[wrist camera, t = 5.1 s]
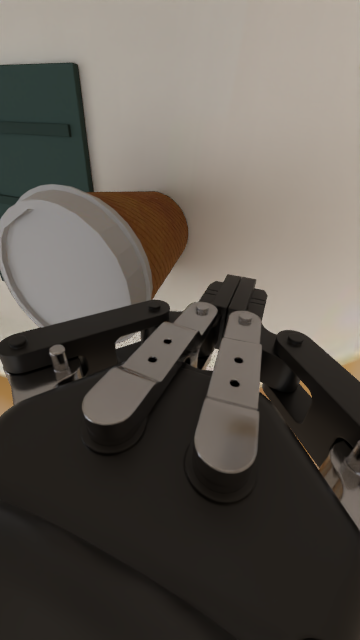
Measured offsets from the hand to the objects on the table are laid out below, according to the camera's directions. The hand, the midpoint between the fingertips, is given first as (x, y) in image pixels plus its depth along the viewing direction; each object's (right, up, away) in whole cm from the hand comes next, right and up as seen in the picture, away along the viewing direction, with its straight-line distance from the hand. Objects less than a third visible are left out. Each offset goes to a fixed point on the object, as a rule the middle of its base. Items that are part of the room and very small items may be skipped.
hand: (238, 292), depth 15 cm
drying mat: (-18, +10, +13) cm, 24 cm away
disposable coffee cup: (-5, +7, +10) cm, 13 cm away
